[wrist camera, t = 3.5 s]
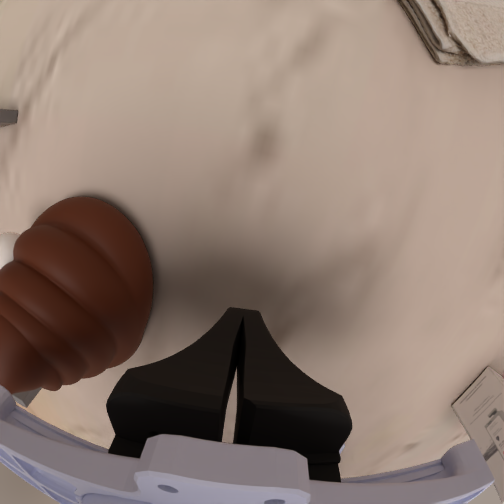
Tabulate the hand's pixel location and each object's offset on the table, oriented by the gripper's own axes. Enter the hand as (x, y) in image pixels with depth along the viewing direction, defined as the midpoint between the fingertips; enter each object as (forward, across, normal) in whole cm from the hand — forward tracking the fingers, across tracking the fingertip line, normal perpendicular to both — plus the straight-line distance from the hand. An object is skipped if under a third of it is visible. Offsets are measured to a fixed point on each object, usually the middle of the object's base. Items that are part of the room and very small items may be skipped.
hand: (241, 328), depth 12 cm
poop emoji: (+2, +9, 0) cm, 9 cm away
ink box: (+2, -23, +8) cm, 24 cm away
